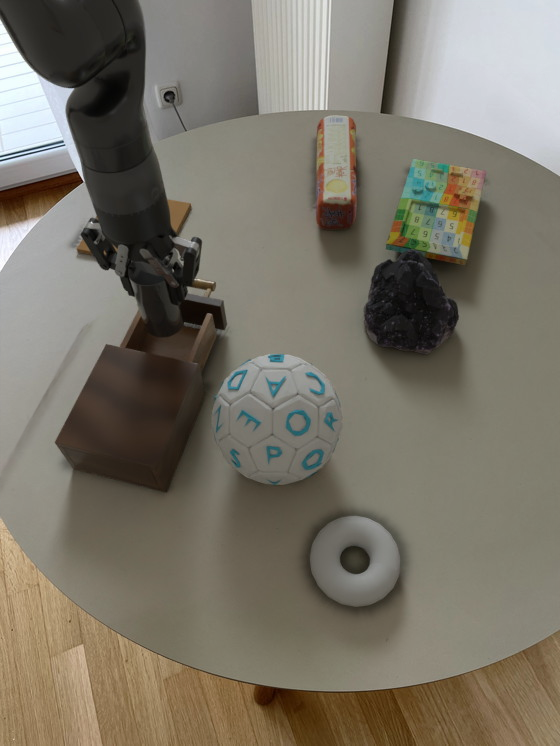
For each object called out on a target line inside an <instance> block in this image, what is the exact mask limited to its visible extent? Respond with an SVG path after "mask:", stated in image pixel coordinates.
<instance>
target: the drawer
mask: <svg viewBox="0 0 560 746" xmlns="http://www.w3.org/2000/svg"><path fill="white" fill-rule="evenodd" d="M190 288H193V289H196V290H197V289H198V290H202V291H205V292H204V295H198V294H194V293H189V292H188V293H187V295H186V298H185V300H184V302H183V303H182V302H181V306H182V310H183V314H184V324H190V325H194V326H195V325H196V326H200V328H196V327H191V326H187V325H183V327H182V328H181V330H180V331H179V332H178V333H176V334H174V335H172V336H170V337H165V338H160V337H155V336H153V335H151V334H149V333H148V332H147V330H146V329H145V326H144V323H143V320H142V317H141V314H140V310H139V308H137V309H138V310H137V312H136V314H135V315H134V318H133V320H132V321H131V323H130V325H129V327H128V329H127V331H126V333H125V335H124V337H123V339H122V341H121V343H120V345H119V347H122V348H127V349H132V350H136V351H141V352H146V353H150V354H155V355H160V356H164V357H169V358H174V359H178V360H183V361H188V362H192V363H197V364H199V368H200V372H201V374H202V373H203V370H204V368H205V365H206V364H207V360H208V358H209V356H210V354H211V351H212V349H213V346H214V344H215V341H216V338H217V337H218V336H217V331H216V330H218V331H219V330H220V331H226V329H227V326H228V320H227V314H226V308H225V302H224V300H223V299H219V298H214V297H211V294H212V292H215V291H216V288H217V282H216V281H213V280H210V279H209V280H207V279H202V278H197V277H196V278H195V280H194V282H193V284H192V286H191V287H190Z"/></svg>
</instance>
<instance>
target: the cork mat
mask: <svg viewBox="0 0 560 746" xmlns="http://www.w3.org/2000/svg"><path fill="white" fill-rule="evenodd" d="M167 201H168V205H169V210H170V218H171V226H172V228H173V229H174V230H175V232H176V233H177V235H178V234H179V232H180V230H181V228H182V226H183V225H184V222H185V220H186V218H187V217H188V215H189V212H190V210H191V208H192V203H191V202H187V201H180V200H174V199H169V198H167ZM95 218H96V219H97V220H98V218H97V215H95ZM112 245H113V244H112ZM113 246H114V245H113ZM114 248H115V250H116V252H118V251H117V250H118V249H117V248H116V247H115V246H114ZM76 252H77V253H79V254H84V255H90V256H93V254H92V253H91V251H90V250H89V248H88V246H87V245H86V243H85V242H84V240H83V238H82V239H81V241H80V242H79V244H78V246H77V247H76ZM104 255H106V252H105V251H104Z"/></svg>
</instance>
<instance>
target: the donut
mask: <svg viewBox="0 0 560 746" xmlns="http://www.w3.org/2000/svg"><path fill="white" fill-rule="evenodd" d="M350 547H358V548H360V549H363V550H364V551H365V552H366V553H367V555H368V558H369V565H368V567H367V569H366V570H365V571H363V572H361V573H351V572H349V571H347V570H346V569H345V568H344V567H343V566H342V563H341V555H342V553H343V552H344V551H345V550H346V549H348V548H350ZM401 562H402V561H401V556H400V552H399V547H398V544H397V543H396V541H395V540H394V538H393V536H392V534H391V533H390V532H389V531H388V530H387V529H386V528H385V527H384V526H383V525H382V524H381V523H379V522H377V521H375V520H373V519H371V518H369V517H365V516H359V515H348V516H341V517H339V518H336V519H334V520H332V521H330V522H327V524H325V526H324V527H323V528H321V529H320V531H318V533H317V535H316V537H315V539H314V540H313V542H312V544H311V548H310V554H309V564H310V570H311V574H312V576H313V578H314V581H315V582H316V584H317V586H318V588H319V589H320V590H321V591H322V592H323V593H324V594H325V595H326V596H327V597H328V598H329V599H331V600H333V601H334V602H336V603H339V604H340V605H344V606H349V607H355V608H358V607H366V606H371V605H373V604H375V603H377V602H380V601H381V600H384V598H385V597H386V596H387V595H388V594H389V593H390V592H391V591H392V590H393V589H394V588H395V585H396V583H397V581H398V579H399V577H400V572H401Z"/></svg>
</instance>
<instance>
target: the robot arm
mask: <svg viewBox="0 0 560 746" xmlns="http://www.w3.org/2000/svg"><path fill="white" fill-rule="evenodd" d="M0 22H1V24H2V25H3V27H4V29H5V31H6V33H7V35H8V36H9V38H10V40H11V41H12V43H13V46H14V47H15V49H16V50H17V51H18V53H19V55H20V56H21V59H23V61H24V62H25V63H26V64H27V66H28V67H29V68H30V69H31V70H32V71H33V72H35V73H36V74H37V76H39V77H40V78H42V79H44V80H45V81H47V82H48V83H50V84H52V85H55V86H57V87H60V88H64V89H73V90H72V91H71V92H70V94H69V95H68V98H67V100H66V103H65V108H64V109H65V111H64V113H65V117H66V121H67V125H68V128H69V133H70V135H71V138H72V140H73V143H74V146H75V150H76V153H77V156H78V158H79V161H80V166H81V172H82V177H83V181H84V184H85V186H86V189H87V193H88V196H89V198H90V201H91V205H92V206H93V210H94V213H95V216H97V218H98V220H97V219H96V217H90V218H89V220H88V221H87V222H86V224H85V225H84V226H83V229H82V230H81V233H80V237H81V238H82V239H83V240H84V242H85V243H86V245H87V246H88V248H89V250H90V251H91V253H92V254H93V255H92V256H93V258H94V259H95V261H96V263H97V264H98V266H99V268H101V269H102V270H104V271H109V270H112V271H114V273H115V275H116V276H118V277H119V279H120V282H121V285H122V288H123V289H124V291H125V292H127V294H128V296H129V297H134V298H135V295H134V292H133V289H132V286H131V283H130V280H129V277H128V267H129V265H130V263H131V262H132V261H136V262H141V261H142V262H145V263H148V264H151V266H152V267H153V268H154V270H155V271H156V272H157V274H158V275H163V277H164V278H165V279H166V281H167V282H168V284H169V286H168V287H169V291H170V294H171V298H172V302H173V305H177V306H180V304H181V302H182V303H183V302H184V300H185V298H186V295H187V293H189V290H188V288H192V287H191V286H192V284H193V282H194V280H195V278H197V276H198V273H199V271H200V264H201V255H202V248H203V241H202V239H201V238H200V237H198V236H192V237H191V239H190V240H188V239H185V238H182V237H179V236H178V234H177V233H176V232H175V230H174V229H173V228H172V226H171V218H170V210H169V205H168V201H167V199H168V197H167V193H166V188H165V183H164V177H163V174H162V170H161V165H160V162H159V158H158V156H157V153H156V150H155V148H154V145H153V142H152V137H151V133H150V129H149V123H148V120H147V114H146V111H145V108H144V107H145V106H144V102H145V101H144V100H145V99H144V98H145V90H146V69H147V68H146V65H147V64H146V63H147V32H146V30H147V29H146V21H145V17H144V12H143V8H142V6H141V2H140V0H0ZM112 244H113V245H114V246H115V247H116V248H117V249H118V250H117V251H118V252H116V250H115V248H114V246H113V245H112ZM104 251H105V252H106V255H104ZM182 262H183V263H182ZM172 269H173V272H172Z"/></svg>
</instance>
